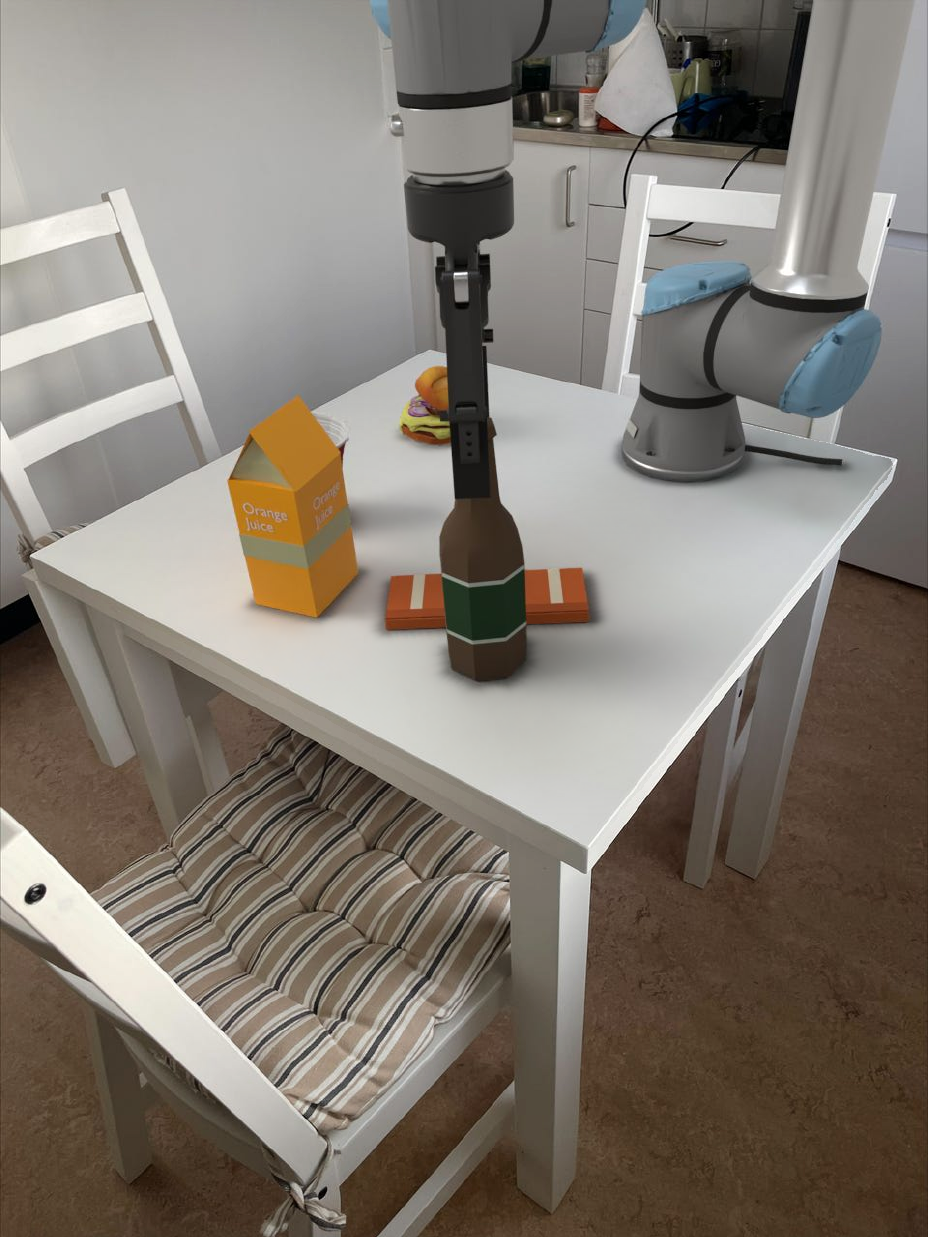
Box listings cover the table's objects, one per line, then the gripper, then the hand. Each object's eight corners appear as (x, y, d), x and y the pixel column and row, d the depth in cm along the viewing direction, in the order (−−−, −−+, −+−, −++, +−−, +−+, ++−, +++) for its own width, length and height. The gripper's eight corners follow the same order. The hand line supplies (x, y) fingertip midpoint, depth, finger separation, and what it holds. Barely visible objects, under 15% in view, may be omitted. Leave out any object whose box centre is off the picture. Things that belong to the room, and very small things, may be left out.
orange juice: (254, 604, 99) (212, 426, 87) (299, 560, 105) (265, 390, 94) (318, 618, 96) (284, 437, 84) (360, 573, 102) (334, 398, 91)
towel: (581, 576, 99) (582, 565, 98) (588, 622, 93) (589, 610, 92) (392, 584, 100) (391, 573, 99) (386, 630, 94) (384, 618, 93)
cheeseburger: (404, 416, 135) (415, 349, 129) (477, 433, 135) (491, 367, 129) (390, 446, 127) (401, 377, 121) (468, 465, 127) (483, 396, 121)
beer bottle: (470, 694, 85) (451, 451, 71) (432, 649, 91) (408, 415, 77) (544, 665, 88) (540, 425, 74) (502, 623, 93) (492, 393, 79)
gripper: (413, 142, 75) (433, 397, 87) (388, 219, 55) (418, 536, 67) (508, 137, 74) (515, 393, 87) (518, 212, 54) (525, 532, 67)
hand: (473, 456), depth 77 cm, fingers open, 13 cm apart
